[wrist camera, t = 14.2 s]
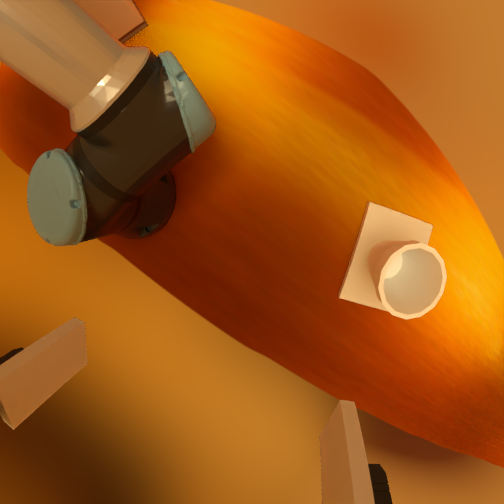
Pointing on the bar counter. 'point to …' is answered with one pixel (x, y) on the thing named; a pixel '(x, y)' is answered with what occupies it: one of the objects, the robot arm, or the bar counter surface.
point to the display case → (116, 16)
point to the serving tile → (371, 232)
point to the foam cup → (406, 276)
